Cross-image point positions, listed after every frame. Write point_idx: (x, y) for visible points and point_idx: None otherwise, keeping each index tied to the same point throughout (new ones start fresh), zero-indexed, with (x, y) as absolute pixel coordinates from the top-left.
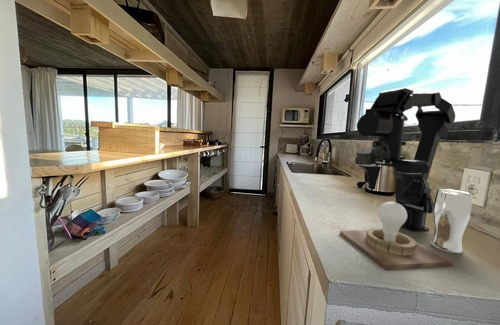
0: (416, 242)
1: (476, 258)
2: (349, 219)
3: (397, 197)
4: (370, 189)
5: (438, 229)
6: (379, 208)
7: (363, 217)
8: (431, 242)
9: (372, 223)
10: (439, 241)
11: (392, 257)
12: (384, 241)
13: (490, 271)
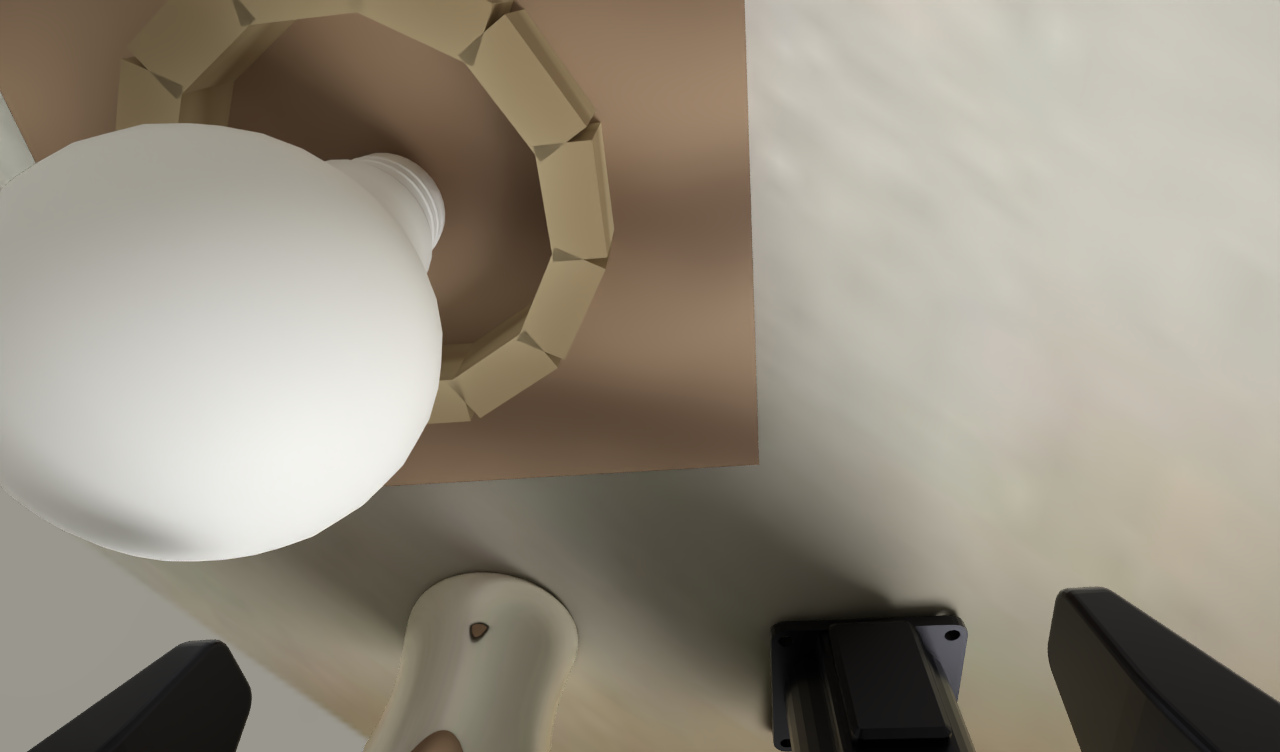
0: (480, 475)
1: (369, 676)
2: (1202, 188)
3: (167, 654)
4: (1085, 590)
5: (447, 702)
6: (228, 182)
7: (1201, 414)
8: (532, 594)
9: (1005, 405)
10: (453, 621)
11: (85, 20)
12: (200, 51)
13: (218, 620)
